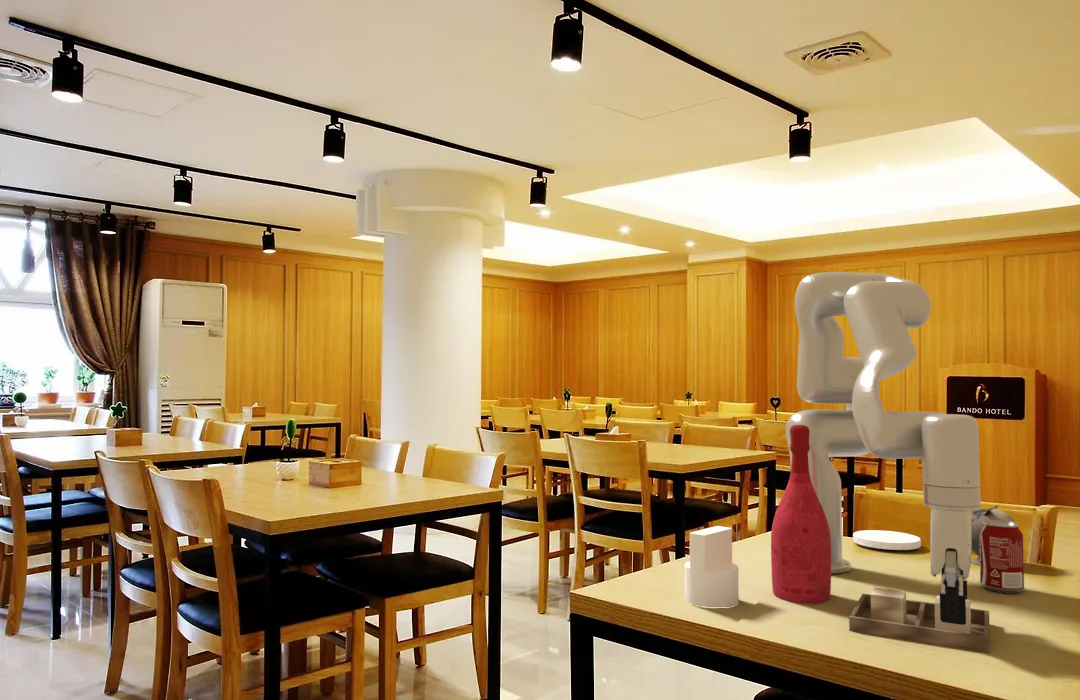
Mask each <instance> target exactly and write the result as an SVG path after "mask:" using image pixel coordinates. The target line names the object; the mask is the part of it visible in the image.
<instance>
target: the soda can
mask: <svg viewBox="0 0 1080 700" xmlns="http://www.w3.org/2000/svg"><path fill="white" fill-rule="evenodd" d="M983 523H984V525H983V527H982V528H981V529H980V531H979V534H980V565H979V570H980V571H979V575H980V576H979V577H980V578H979V579H980V580H979V581H980V582H979V583H980V585H981V586H982V587H985V588H986V589H987V590H988V591H991V592H996V593H1002V594H1017V593H1019V592H1022V591H1023V590H1024V589H1025V578H1024V577H1025V574H1024V573H1025V572H1024V570H1025V569H1024V563H1025V562H1024V535H1023V533H1022V531H1021V530H1020V529H1019V526H1020V525H1019V523H1017V522H1016V521H1015V522H1010V521H1002V520H985V521H983Z"/></svg>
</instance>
